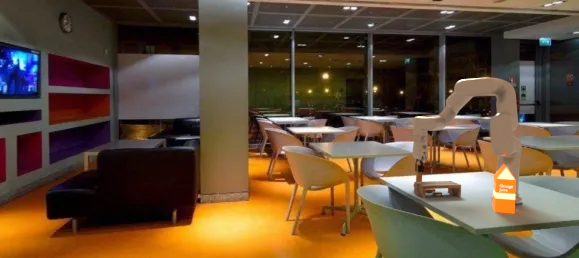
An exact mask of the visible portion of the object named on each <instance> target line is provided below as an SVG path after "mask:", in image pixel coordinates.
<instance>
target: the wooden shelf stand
mask: <svg viewBox="0 0 579 258" xmlns="http://www.w3.org/2000/svg"><path fill="white" fill-rule="evenodd" d="M413 188H414V190H413V194H414V193H415V194H414V195H416V196H419V197H420V198H422V199H426V195H427V194H426V193H427V192H426V189H435V190H437V189H438V190H439V189H440V190H441V189H447V193H449V194H451V195H453V196H455V197H458V198H461V197H462V184H460V183H457V182H455V181H452V180H439V181H438V180H435V181H434V180H433V181H432V180H431V181H422V182H416V181H414V183H413Z"/></svg>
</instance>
